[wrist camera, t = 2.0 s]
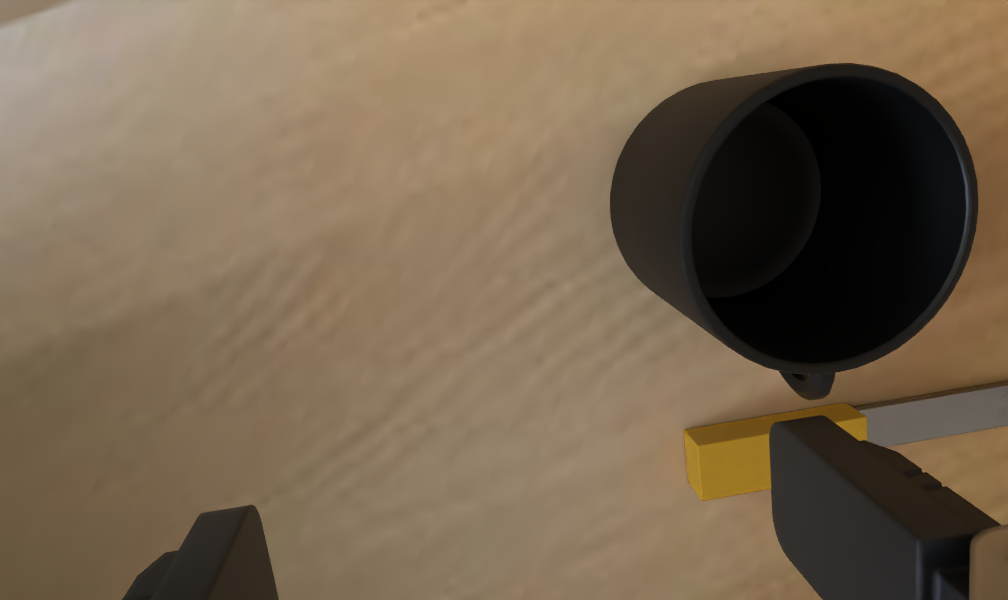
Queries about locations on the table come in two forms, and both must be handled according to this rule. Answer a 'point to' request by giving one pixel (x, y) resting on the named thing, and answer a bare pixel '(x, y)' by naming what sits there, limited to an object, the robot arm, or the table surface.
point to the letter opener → (745, 443)
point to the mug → (799, 214)
